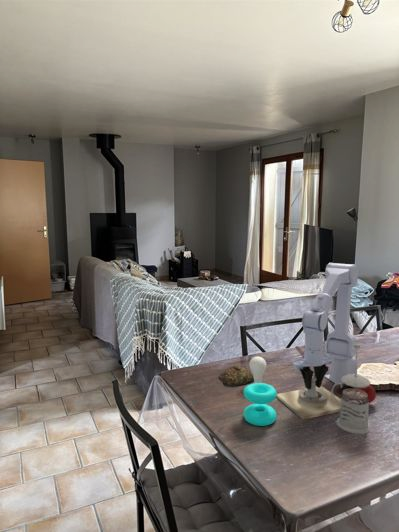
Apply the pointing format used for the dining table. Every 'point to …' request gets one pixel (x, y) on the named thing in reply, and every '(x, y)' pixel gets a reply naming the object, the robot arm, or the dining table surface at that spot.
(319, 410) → the ring board
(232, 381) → the bread roll
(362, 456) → the dining table surface
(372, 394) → the pomegranate
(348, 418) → the french press
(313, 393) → the rook chess piece
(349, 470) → the dining table surface
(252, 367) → the lightbulb
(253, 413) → the donuts
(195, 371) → the dining table surface
